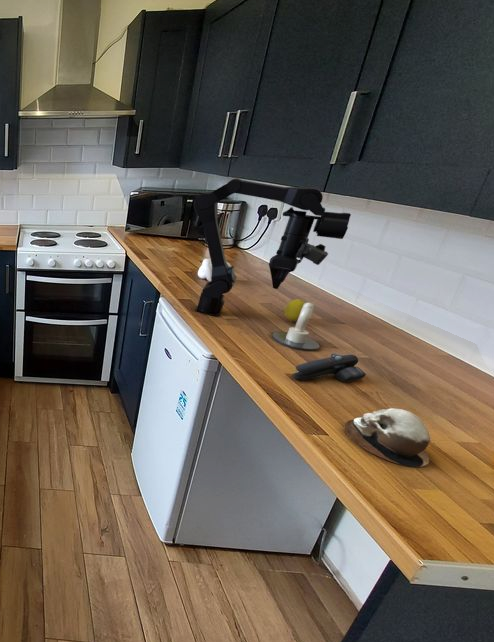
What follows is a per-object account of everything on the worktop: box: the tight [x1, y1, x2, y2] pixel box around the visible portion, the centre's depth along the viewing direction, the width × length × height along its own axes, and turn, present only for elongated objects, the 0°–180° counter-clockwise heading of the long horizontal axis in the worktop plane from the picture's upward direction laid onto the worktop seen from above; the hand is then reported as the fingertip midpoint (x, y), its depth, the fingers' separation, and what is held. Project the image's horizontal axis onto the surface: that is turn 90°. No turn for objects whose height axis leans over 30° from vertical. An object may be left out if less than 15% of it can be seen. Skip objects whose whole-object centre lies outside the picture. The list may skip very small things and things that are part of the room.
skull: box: [344, 407, 431, 468], centre depth 75 cm, size 12×10×10 cm
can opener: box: [291, 352, 367, 383], centre depth 96 cm, size 18×7×6 cm, turn 100°
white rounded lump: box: [197, 258, 232, 282], centre depth 164 cm, size 11×12×9 cm
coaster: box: [271, 331, 320, 352], centre depth 115 cm, size 11×11×1 cm
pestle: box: [286, 301, 315, 343], centre depth 112 cm, size 5×5×12 cm
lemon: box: [284, 298, 306, 323], centre depth 127 cm, size 6×6×8 cm
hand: (278, 285), depth 121 cm, fingers open, 9 cm apart
